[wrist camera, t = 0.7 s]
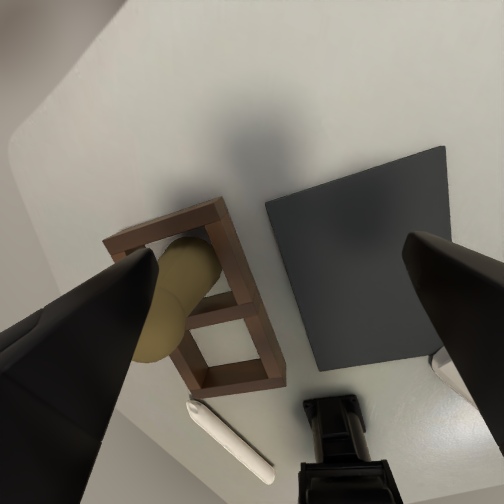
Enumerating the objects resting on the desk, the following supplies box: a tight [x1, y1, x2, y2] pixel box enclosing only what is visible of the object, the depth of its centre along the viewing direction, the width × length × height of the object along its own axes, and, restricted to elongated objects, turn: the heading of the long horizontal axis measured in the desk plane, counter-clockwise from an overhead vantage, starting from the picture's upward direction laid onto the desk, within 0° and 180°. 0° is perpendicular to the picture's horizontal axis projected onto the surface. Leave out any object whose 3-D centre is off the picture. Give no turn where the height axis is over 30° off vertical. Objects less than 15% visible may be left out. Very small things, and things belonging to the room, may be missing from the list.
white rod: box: [186, 401, 275, 485], centre depth 34 cm, size 18×2×2 cm, turn 38°
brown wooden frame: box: [102, 196, 286, 400], centre depth 25 cm, size 20×11×3 cm, turn 19°
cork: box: [132, 237, 222, 363], centre depth 20 cm, size 6×6×11 cm
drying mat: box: [265, 146, 452, 371], centre depth 23 cm, size 20×14×1 cm
